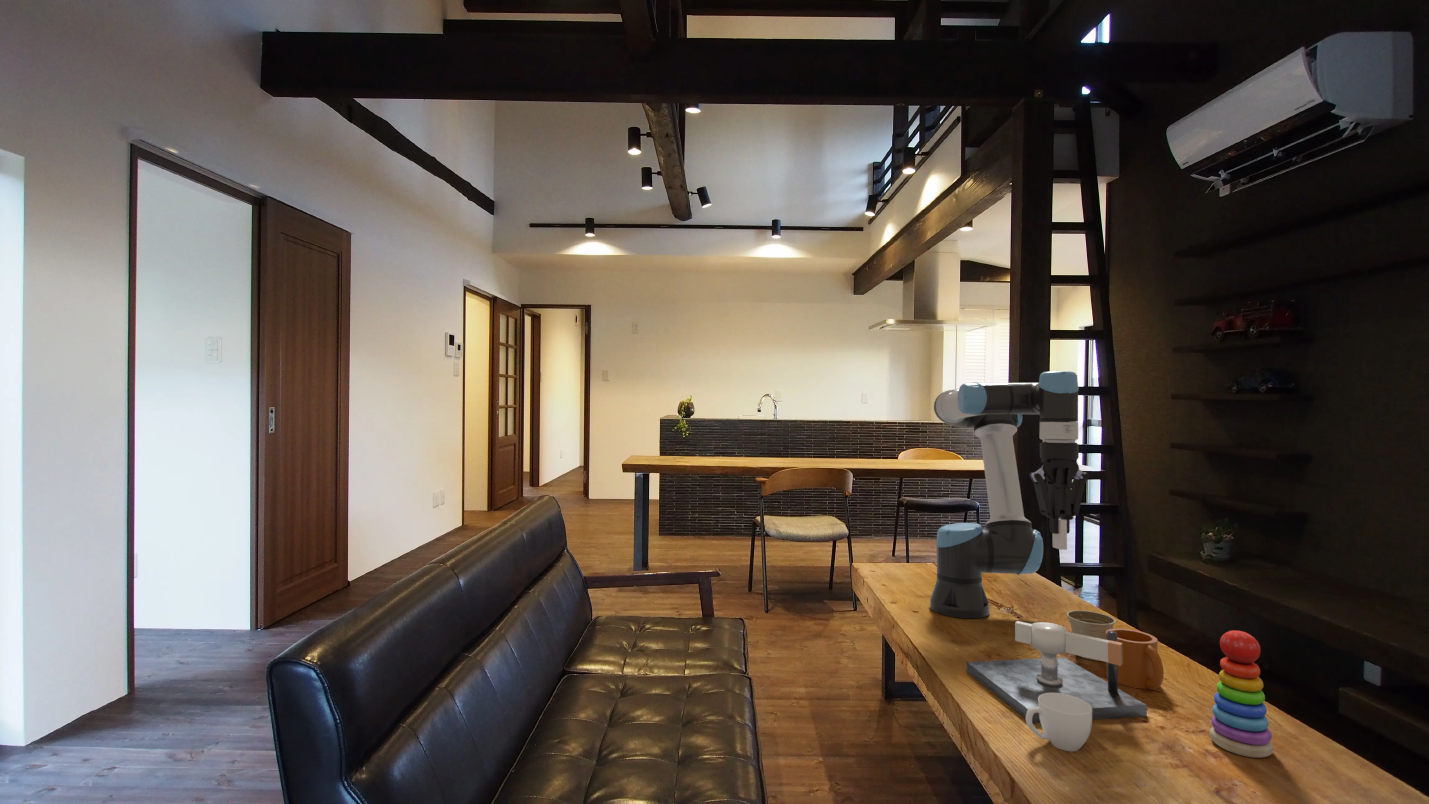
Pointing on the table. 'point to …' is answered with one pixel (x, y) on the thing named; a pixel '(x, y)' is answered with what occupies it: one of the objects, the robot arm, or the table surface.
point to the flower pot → (1090, 624)
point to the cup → (1062, 720)
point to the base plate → (1056, 684)
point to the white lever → (1067, 642)
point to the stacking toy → (1240, 699)
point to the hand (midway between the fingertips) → (1059, 548)
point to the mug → (1139, 660)
